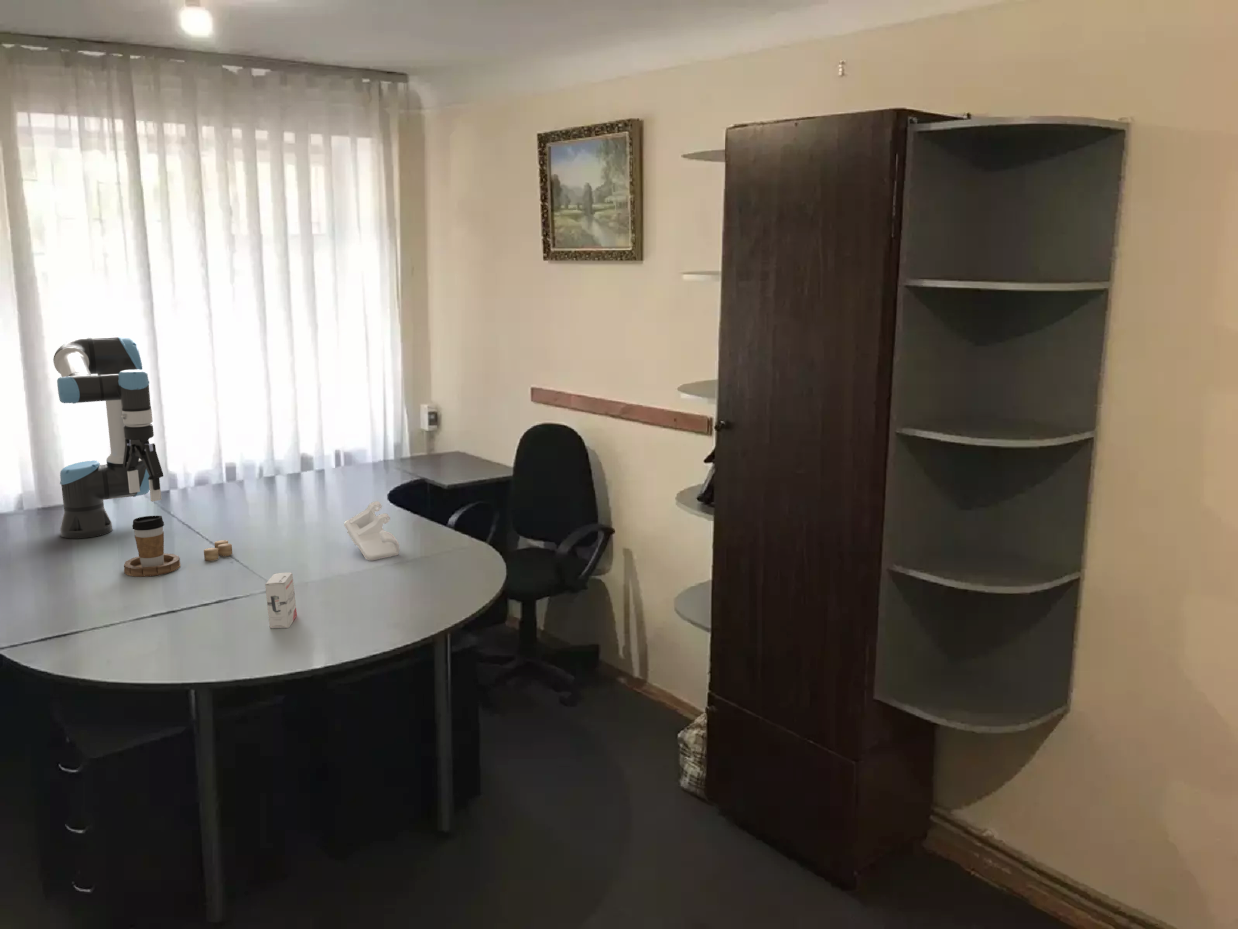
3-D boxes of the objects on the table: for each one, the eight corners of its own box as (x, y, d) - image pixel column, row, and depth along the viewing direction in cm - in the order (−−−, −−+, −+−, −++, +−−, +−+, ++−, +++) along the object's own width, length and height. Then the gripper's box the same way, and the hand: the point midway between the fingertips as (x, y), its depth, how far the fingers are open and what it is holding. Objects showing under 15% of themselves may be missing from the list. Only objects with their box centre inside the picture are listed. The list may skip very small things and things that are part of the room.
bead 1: (202, 559, 293) (201, 549, 292) (214, 556, 296) (213, 547, 295) (208, 562, 290) (207, 552, 290) (221, 558, 293) (220, 549, 293)
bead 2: (212, 551, 300) (211, 542, 299) (224, 548, 303) (223, 539, 303) (219, 554, 298) (219, 544, 297) (231, 551, 301) (230, 541, 300)
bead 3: (216, 555, 297) (215, 545, 296) (228, 552, 300) (227, 542, 299) (222, 557, 295) (222, 548, 294) (235, 554, 298) (234, 545, 297)
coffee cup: (156, 572, 278) (150, 522, 275) (130, 570, 280) (124, 520, 277) (174, 563, 286) (169, 514, 283) (149, 561, 288) (144, 513, 285)
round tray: (115, 569, 283) (114, 561, 282) (166, 557, 294) (165, 550, 293) (138, 580, 273) (137, 572, 273) (189, 567, 284) (189, 560, 284)
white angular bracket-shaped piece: (398, 567, 302) (405, 536, 295) (364, 574, 294) (371, 542, 288) (371, 526, 313) (378, 495, 306) (338, 533, 306) (344, 501, 299)
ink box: (277, 616, 247) (273, 572, 244) (297, 615, 247) (294, 571, 245) (268, 629, 238) (264, 583, 236) (288, 628, 239) (285, 583, 236)
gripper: (105, 420, 279) (113, 491, 284) (144, 432, 264) (152, 506, 268) (131, 417, 285) (138, 486, 290) (171, 428, 269) (178, 501, 274)
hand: (145, 496), depth 279 cm, fingers open, 13 cm apart
